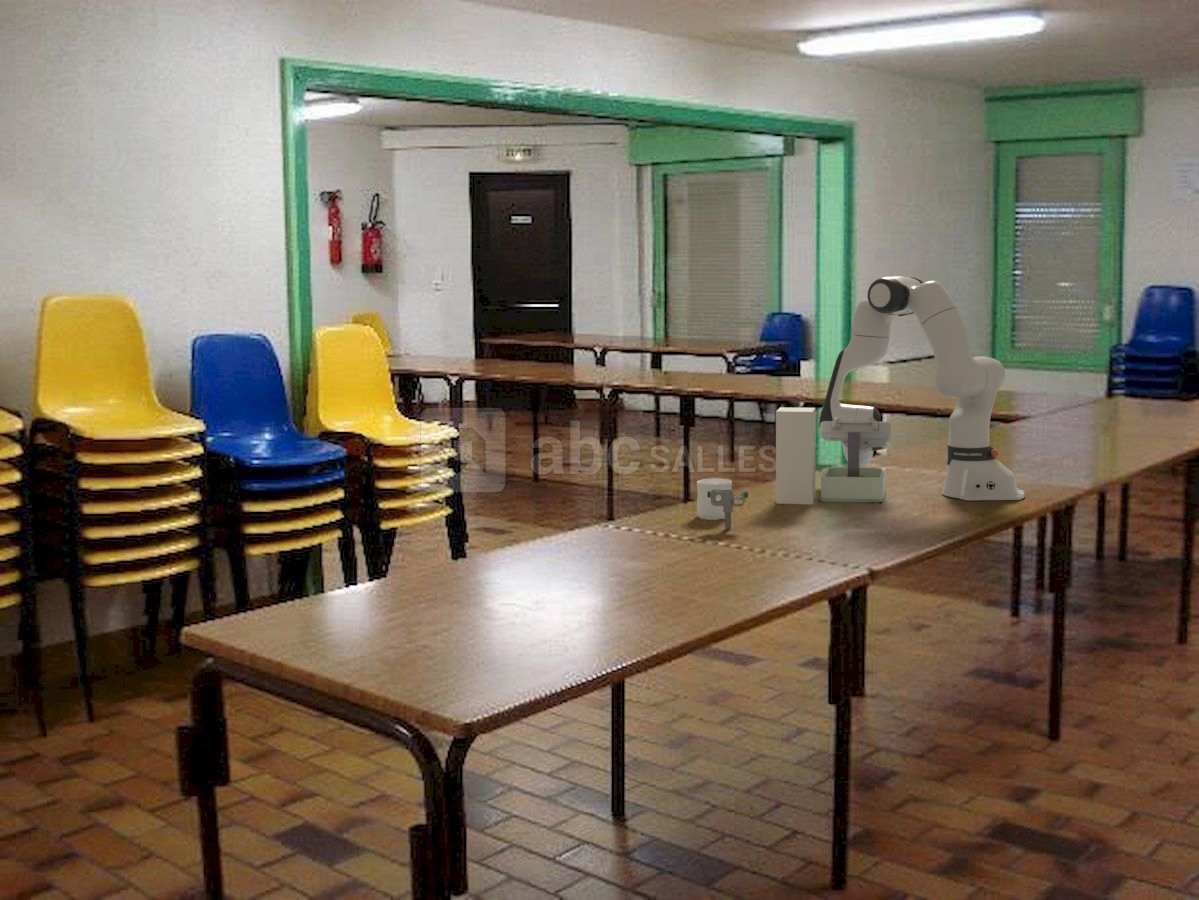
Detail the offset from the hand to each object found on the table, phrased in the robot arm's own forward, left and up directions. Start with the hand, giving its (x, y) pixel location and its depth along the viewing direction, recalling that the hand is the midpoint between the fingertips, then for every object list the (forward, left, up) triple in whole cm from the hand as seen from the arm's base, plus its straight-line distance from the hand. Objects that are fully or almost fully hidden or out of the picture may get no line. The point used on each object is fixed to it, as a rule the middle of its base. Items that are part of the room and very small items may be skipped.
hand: (854, 420), depth 374 cm
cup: (+35, +33, -22) cm, 53 cm away
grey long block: (0, -2, -12) cm, 12 cm away
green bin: (0, 0, -22) cm, 22 cm away
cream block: (+16, +9, -22) cm, 28 cm away
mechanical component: (+29, +48, -22) cm, 60 cm away
